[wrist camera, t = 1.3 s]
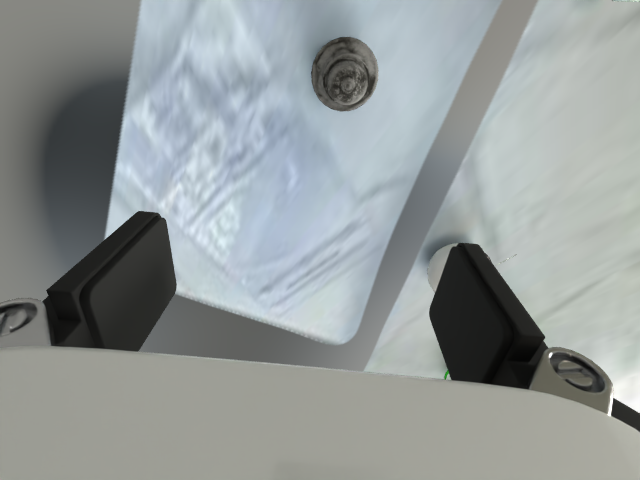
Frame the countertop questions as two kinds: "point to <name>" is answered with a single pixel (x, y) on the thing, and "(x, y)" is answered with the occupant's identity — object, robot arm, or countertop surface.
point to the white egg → (440, 265)
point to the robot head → (628, 0)
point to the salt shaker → (344, 74)
